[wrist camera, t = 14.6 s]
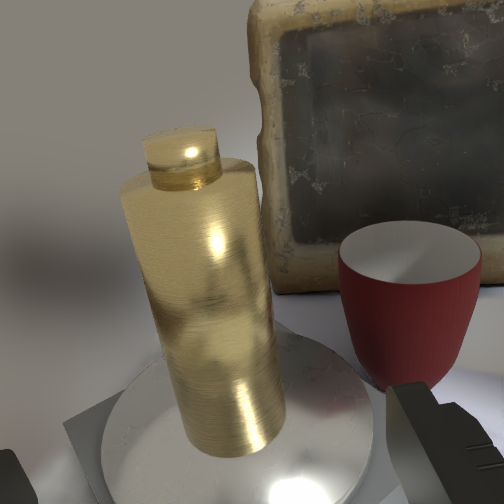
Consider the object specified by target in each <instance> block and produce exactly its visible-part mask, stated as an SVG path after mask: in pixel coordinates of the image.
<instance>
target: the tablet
mask: <svg viewBox="0 0 504 504" xmlns="http://www.w3.org/2000/svg"><path fill="white" fill-rule="evenodd" d="M247 37H248V51H249V63H250V78H251V80H252V82H253V85H254V86H255V87H256V88H257V90H258V93H259V96H260V101H261V107H262V108H261V109H262V129H261V132H260V134H259V135H258V136H257V151H258V169H259V174H260V178H261V181H262V188H263V197H262V205H261V216H262V223H263V233H264V241H265V249H266V258H267V265H268V273H269V277H270V279H271V282H272V285H273V290H274V292H275V293H276V294H277V295H278V294H284V293H301V292H308V291H340V289H339V278H338V249H339V245H340V243H341V242H342V241H343V239H344V238H345V237H347V236H348V235H349V234H351V233H352V232H354V231H356V230H358V229H360V228H363V227H366V226H369V225H373V224H377V223H382V222H389V221H424V222H431V223H437V224H441V225H445V226H449V227H452V228H454V229H457V230H459V231H461V232H463V233H465V234H467V235H468V236H470V237H471V238H473V239H474V240H475V241H476V242H477V243H478V245H479V246H480V248H481V251H482V265H481V277H480V284H497V283H504V0H255V1H254V3H253V4H252V6H251V8H250V10H249V15H248V22H247Z"/></svg>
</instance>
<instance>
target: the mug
mask: <svg viewBox="0 0 504 504" xmlns="http://www.w3.org/2000/svg"><path fill="white" fill-rule="evenodd" d="M481 265H482V251H481V248H480V246H479V245H478V243H477V242H476V241H475V240H474V239H473V238H471V237H470V236H468V235H467V234H465V233H463V232H461V231H459V230H457V229H454V228H452V227H449V226H445V225H441V224H437V223H431V222H424V221H389V222H382V223H377V224H373V225H369V226H366V227H363V228H360V229H358V230H356V231H354V232H352V233H351V234H349V235H348V236H347V237H345V238H344V239H343V241H342V242H341V243H340V245H339V249H338V278H339V289H340V295H341V300H342V304H343V308H344V312H345V316H346V320H347V324H348V328H349V332H350V335H351V339H352V343H353V347H354V350H355V353H356V355H357V357H358V359H359V361H360V363H361V364H362V366H363V367H364V369H365V370H366V371H367V373H368V374H369V375H370V377H371V378H372V379H373V381H374V382H375V383H376V384H377V385H378V386H379V387H380V388H381V389H382V390H384V391H385V392H386V389H387V387H388V386H393V385H399V384H405V383H411V382H417V381H423V382H425V383H426V384H427V386H428V387H429V389H430V390H431V389H432V388H433V387H434V386H435V385H436V384H437V383H438V382H439V381H440V380H441V379H442V378H443V377H444V376H445V375H446V374H447V373H448V371H449V370H450V369H451V367H452V366H453V364H454V362H455V360H456V358H457V356H458V353H459V350H460V348H461V345H462V342H463V339H464V336H465V334H466V331H467V328H468V325H469V322H470V319H471V317H472V314H473V311H474V308H475V305H476V301H477V297H478V292H479V286H480V277H481Z"/></svg>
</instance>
